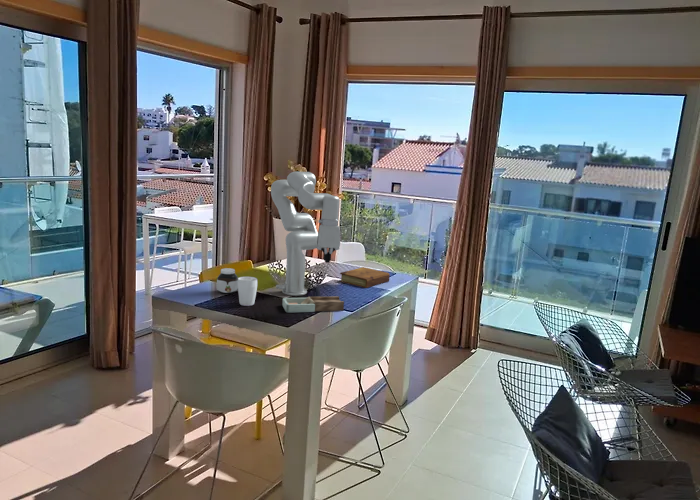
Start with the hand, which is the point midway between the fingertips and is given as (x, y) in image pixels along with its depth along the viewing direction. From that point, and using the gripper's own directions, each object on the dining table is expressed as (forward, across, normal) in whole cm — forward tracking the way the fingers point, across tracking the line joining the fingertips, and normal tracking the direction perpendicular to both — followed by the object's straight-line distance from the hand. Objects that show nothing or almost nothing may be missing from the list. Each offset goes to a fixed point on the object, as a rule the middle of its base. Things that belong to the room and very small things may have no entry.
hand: (327, 261), depth 248 cm
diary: (+23, +36, +48) cm, 64 cm away
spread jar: (+23, -41, +29) cm, 55 cm away
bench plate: (+22, +1, -1) cm, 22 cm away
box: (+22, -12, -1) cm, 25 cm away
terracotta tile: (+20, -15, -1) cm, 25 cm away
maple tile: (+20, -7, -1) cm, 22 cm away
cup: (+22, -35, +8) cm, 42 cm away
